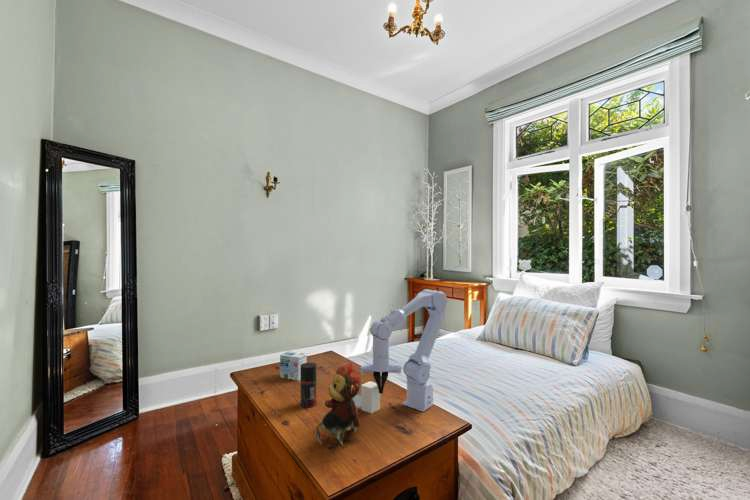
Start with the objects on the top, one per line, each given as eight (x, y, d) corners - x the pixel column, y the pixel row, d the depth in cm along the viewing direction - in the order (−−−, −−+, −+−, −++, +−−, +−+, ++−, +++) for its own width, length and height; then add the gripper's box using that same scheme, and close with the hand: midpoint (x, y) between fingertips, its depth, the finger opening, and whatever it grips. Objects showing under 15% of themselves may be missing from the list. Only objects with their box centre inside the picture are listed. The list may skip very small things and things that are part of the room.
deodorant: (309, 409, 126) (308, 368, 127) (297, 405, 130) (297, 366, 130) (319, 403, 132) (319, 364, 132) (308, 399, 135) (308, 361, 135)
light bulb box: (279, 378, 158) (279, 354, 158) (288, 373, 164) (288, 350, 164) (298, 381, 154) (298, 357, 154) (307, 376, 160) (307, 353, 160)
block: (380, 408, 127) (380, 384, 127) (371, 413, 123) (371, 388, 123) (370, 404, 130) (369, 381, 130) (361, 409, 126) (361, 385, 126)
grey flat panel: (373, 401, 133) (373, 400, 133) (353, 411, 124) (353, 410, 124) (349, 392, 141) (348, 391, 141) (329, 401, 133) (329, 400, 133)
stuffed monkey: (342, 415, 118) (355, 348, 114) (372, 448, 106) (387, 374, 102) (303, 427, 109) (315, 355, 105) (330, 465, 96) (345, 385, 92)
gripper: (400, 351, 127) (400, 388, 127) (361, 351, 128) (362, 387, 128) (401, 357, 120) (401, 396, 120) (360, 357, 121) (360, 395, 121)
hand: (381, 392), depth 123 cm, fingers closed
